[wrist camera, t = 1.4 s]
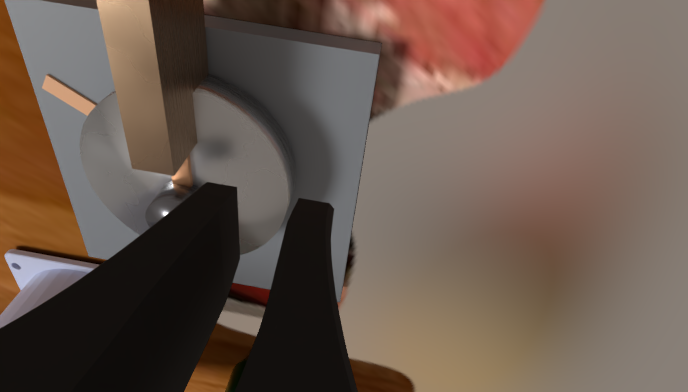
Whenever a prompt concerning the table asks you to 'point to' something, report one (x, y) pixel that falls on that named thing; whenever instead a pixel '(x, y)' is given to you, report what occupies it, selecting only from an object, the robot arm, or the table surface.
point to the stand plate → (232, 66)
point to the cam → (179, 125)
